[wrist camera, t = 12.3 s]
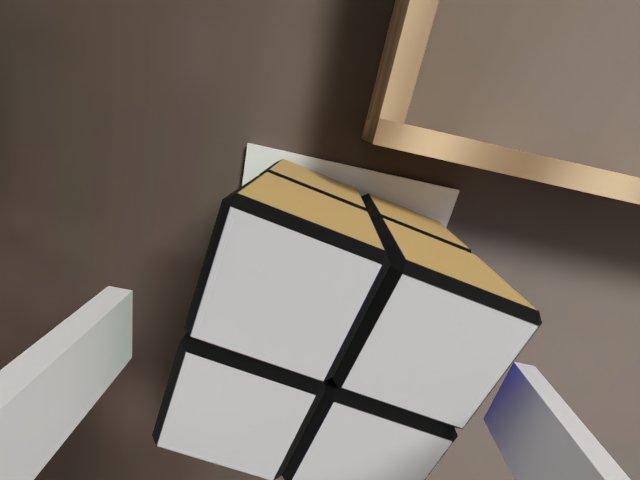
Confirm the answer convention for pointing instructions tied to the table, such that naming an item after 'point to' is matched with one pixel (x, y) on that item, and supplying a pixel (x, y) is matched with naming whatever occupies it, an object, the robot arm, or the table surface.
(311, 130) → the table surface
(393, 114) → the wooden frame
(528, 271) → the table surface
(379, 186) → the pad
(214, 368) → the puzzle cube
